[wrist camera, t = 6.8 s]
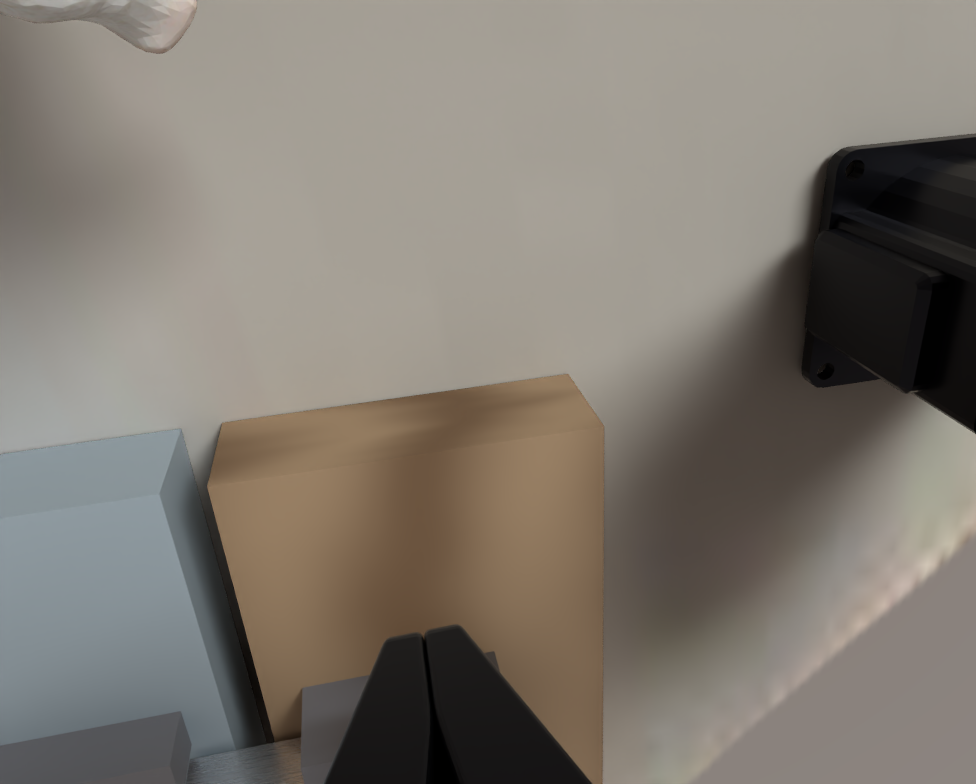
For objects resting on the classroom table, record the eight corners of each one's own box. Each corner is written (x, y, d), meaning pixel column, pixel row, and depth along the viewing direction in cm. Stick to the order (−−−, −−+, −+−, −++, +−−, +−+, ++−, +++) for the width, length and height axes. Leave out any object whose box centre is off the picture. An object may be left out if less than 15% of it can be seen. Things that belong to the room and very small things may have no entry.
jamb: (567, 374, 21) (641, 480, 16) (575, 812, 29) (626, 969, 24) (222, 422, 20) (190, 554, 15) (330, 867, 28) (333, 1045, 23)
